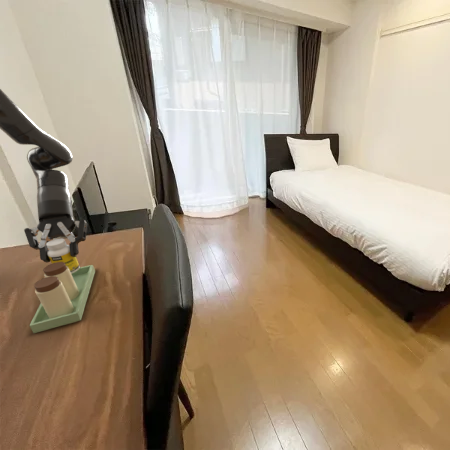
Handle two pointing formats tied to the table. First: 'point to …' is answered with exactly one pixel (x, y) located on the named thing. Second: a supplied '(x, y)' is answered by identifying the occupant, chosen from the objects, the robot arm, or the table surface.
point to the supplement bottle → (62, 254)
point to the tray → (83, 283)
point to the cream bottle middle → (63, 277)
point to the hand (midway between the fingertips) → (60, 258)
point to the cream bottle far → (53, 297)
